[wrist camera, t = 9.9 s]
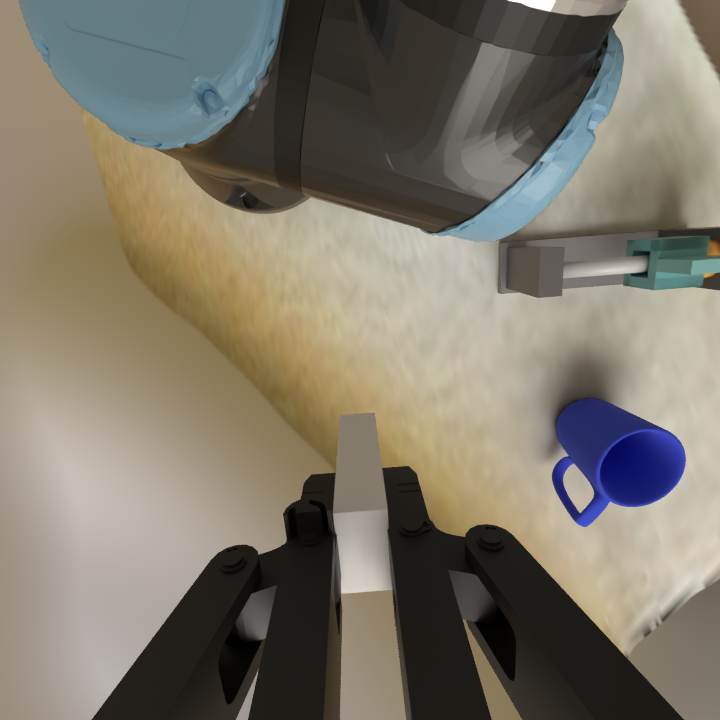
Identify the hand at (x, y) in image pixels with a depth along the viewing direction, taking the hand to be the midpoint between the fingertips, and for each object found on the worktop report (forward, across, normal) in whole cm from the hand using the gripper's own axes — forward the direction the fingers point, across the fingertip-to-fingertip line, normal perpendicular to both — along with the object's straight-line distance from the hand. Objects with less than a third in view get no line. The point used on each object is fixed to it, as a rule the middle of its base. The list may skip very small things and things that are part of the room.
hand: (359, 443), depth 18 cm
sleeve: (+21, +27, +5) cm, 35 cm away
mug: (+27, +24, -15) cm, 39 cm away
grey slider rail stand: (+26, +24, +5) cm, 36 cm away
